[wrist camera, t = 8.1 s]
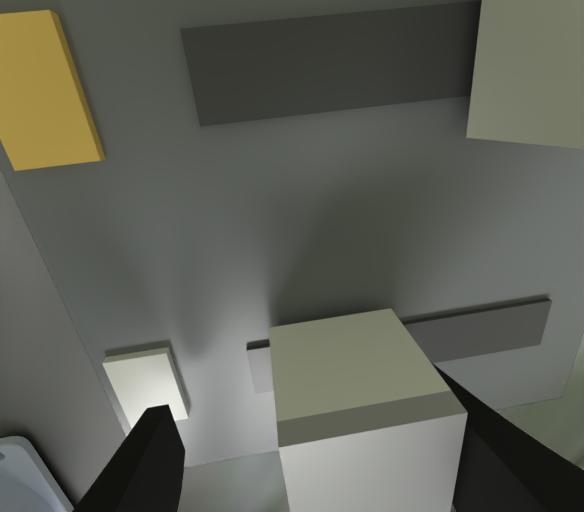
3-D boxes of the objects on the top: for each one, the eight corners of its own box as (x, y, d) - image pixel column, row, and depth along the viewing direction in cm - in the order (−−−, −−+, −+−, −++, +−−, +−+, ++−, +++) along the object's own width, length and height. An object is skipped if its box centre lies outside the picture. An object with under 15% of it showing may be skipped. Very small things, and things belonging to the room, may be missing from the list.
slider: (283, 416, 12) (297, 552, 8) (268, 327, 10) (278, 447, 6) (388, 397, 12) (449, 520, 8) (390, 308, 10) (467, 412, 7)
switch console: (151, 451, 14) (142, 483, 12) (-108, -145, 6) (-190, -205, 5) (542, 380, 15) (567, 403, 14) (710, -189, 8) (796, -247, 6)
